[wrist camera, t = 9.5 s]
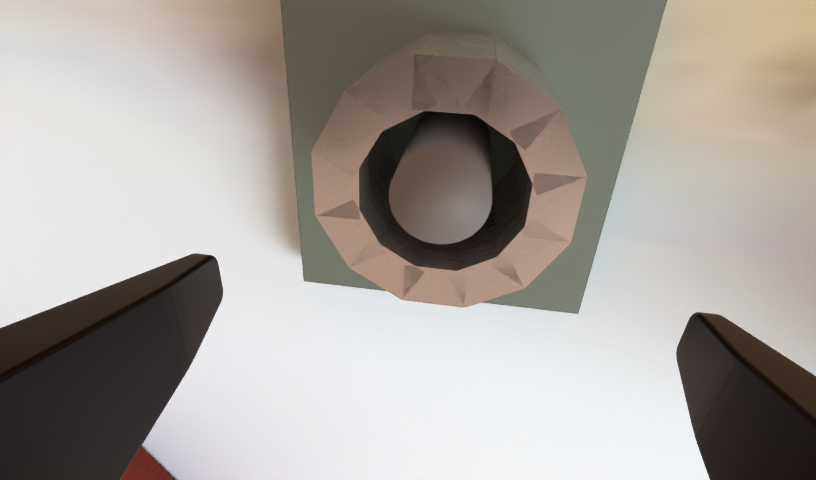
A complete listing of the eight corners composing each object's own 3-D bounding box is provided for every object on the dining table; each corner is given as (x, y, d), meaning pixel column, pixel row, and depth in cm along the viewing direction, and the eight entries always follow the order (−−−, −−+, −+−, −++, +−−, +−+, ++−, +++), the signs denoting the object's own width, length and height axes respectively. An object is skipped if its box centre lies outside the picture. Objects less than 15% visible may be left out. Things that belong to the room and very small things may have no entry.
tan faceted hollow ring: (536, 236, 19) (552, 318, 14) (356, 218, 19) (319, 289, 15) (577, 39, 15) (614, 67, 11) (354, 24, 16) (304, 46, 11)
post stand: (572, 292, 21) (603, 407, 16) (314, 263, 23) (258, 360, 17) (673, -82, 14) (793, -114, 9) (290, -96, 16) (179, -132, 10)
